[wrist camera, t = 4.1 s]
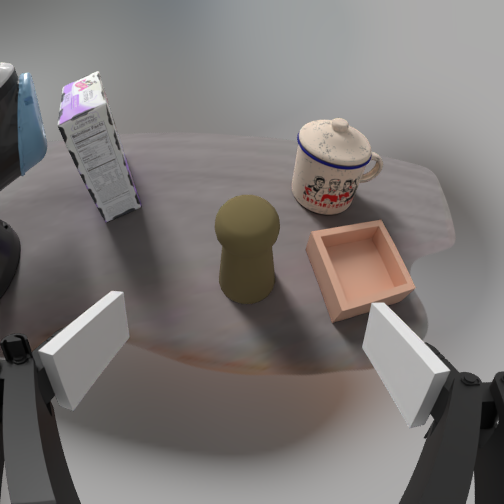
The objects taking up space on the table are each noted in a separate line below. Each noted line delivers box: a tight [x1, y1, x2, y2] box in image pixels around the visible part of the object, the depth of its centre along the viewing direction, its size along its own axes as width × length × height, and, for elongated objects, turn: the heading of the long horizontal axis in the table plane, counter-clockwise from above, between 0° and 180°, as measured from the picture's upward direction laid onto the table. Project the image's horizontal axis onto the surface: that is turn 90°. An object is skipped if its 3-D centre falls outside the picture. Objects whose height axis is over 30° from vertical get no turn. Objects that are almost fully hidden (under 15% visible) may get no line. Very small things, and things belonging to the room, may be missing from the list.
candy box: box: [58, 71, 141, 222], centre depth 31 cm, size 14×6×16 cm, turn 29°
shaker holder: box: [306, 220, 415, 323], centre depth 30 cm, size 9×9×4 cm
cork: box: [215, 195, 280, 304], centre depth 26 cm, size 6×6×11 cm
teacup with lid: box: [292, 118, 383, 215], centre depth 33 cm, size 12×9×12 cm
